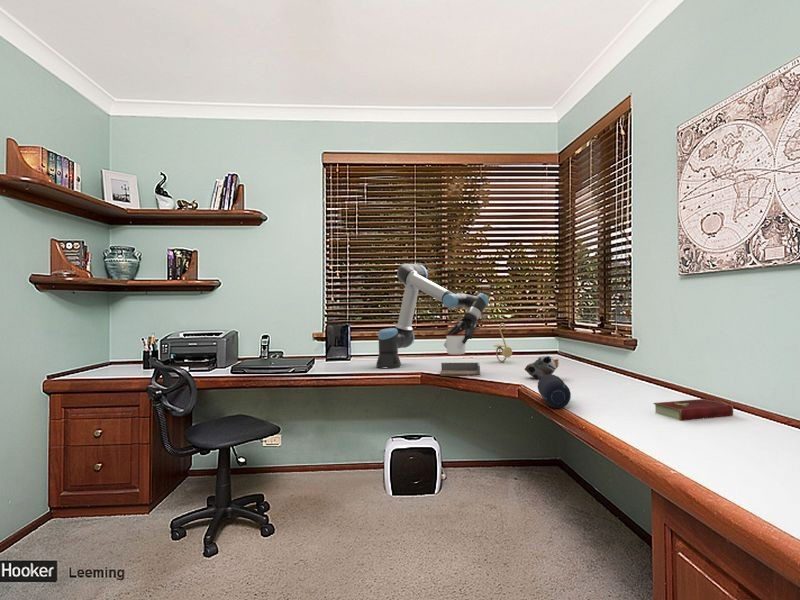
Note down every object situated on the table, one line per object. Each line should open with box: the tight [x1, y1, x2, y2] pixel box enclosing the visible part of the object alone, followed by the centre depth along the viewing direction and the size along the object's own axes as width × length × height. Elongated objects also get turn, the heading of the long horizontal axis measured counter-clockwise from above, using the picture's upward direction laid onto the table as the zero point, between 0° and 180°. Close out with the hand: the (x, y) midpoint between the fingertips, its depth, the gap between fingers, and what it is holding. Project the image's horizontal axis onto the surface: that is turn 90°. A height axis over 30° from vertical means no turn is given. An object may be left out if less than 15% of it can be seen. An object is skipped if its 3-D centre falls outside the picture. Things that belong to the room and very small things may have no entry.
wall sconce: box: [492, 322, 513, 363], centre depth 321 cm, size 14×10×25 cm
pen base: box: [439, 370, 481, 377], centre depth 275 cm, size 15×21×1 cm
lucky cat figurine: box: [524, 355, 560, 380], centre depth 255 cm, size 15×12×14 cm
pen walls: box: [440, 362, 481, 375], centre depth 275 cm, size 15×21×4 cm
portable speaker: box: [537, 373, 571, 409], centre depth 195 cm, size 25×10×10 cm, turn 171°
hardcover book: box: [653, 398, 734, 421], centre depth 172 cm, size 12×21×4 cm, turn 103°
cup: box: [446, 334, 466, 356], centre depth 274 cm, size 10×10×10 cm
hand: (452, 347), depth 272 cm, fingers closed on cup, 10 cm apart
